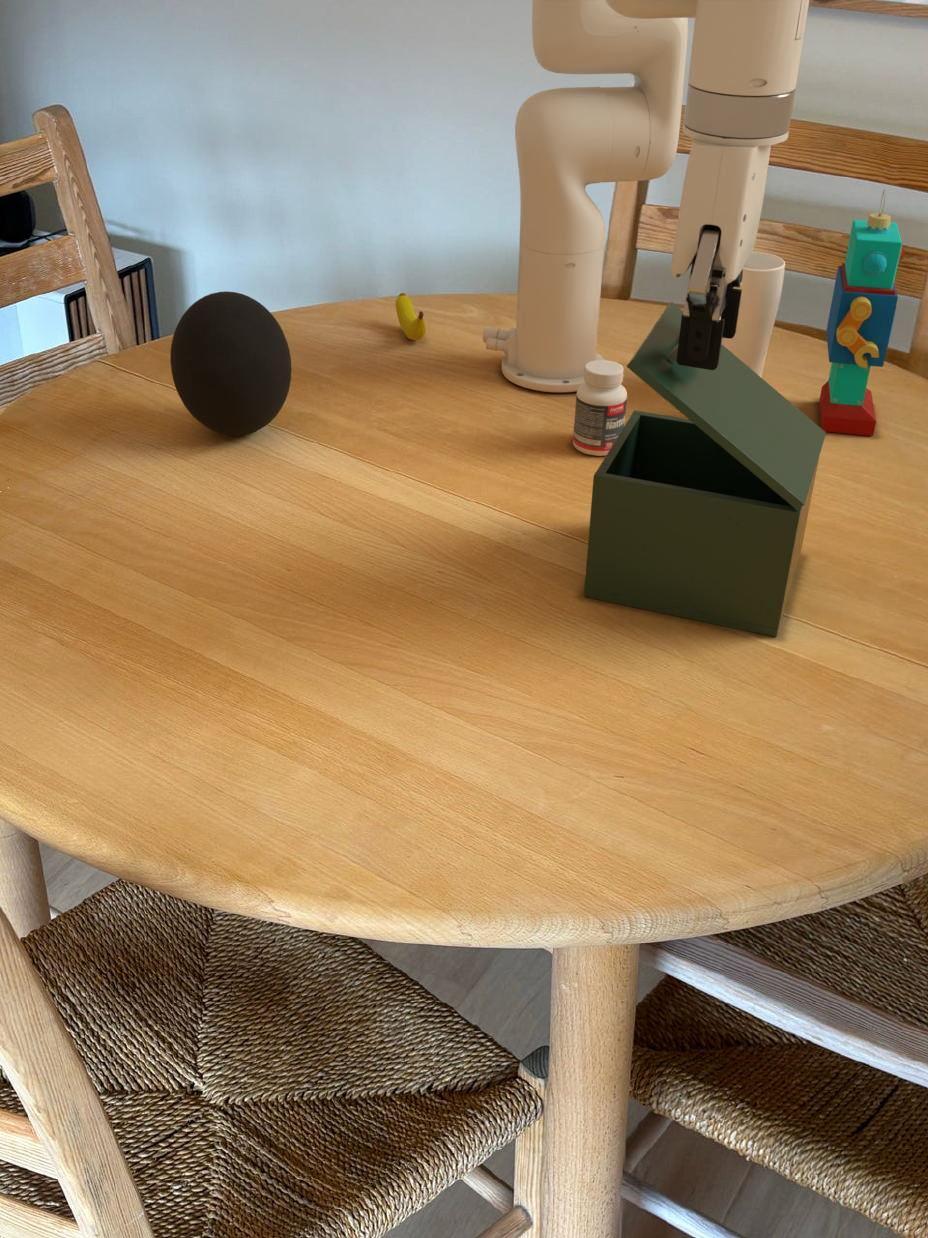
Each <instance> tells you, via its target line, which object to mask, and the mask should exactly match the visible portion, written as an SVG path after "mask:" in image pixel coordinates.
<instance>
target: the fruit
mask: <svg viewBox="0 0 928 1238" xmlns="http://www.w3.org/2000/svg"><path fill="white" fill-rule="evenodd" d="M395 311H396V315H397V319H398V322H399V325H400V327H401V330H402V331H403V333H404V335H405V337H406V338H408V339H409V340H411V341H418V340H421V339H423V338H424V337H425V336H426V332H427V326H426V323H425V320H424V311H419V313H418V316H416V312H415V310H414V306H413V302H412V299H411V298H410V297H409V296H408V295H407V294H406V293H404V292H401V293H399V295H398V296H397V298H396V300H395Z"/></svg>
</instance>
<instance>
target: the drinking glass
mask: <svg viewBox="0 0 928 1238" xmlns="http://www.w3.org/2000/svg"><path fill="white" fill-rule="evenodd" d="M785 271H786V262H785V260H784V259H783V258H782V257H780V256H778V255H775V254H773V253H769V252H763V251H756V250H755V251H754V250H753V251H752V253H751V255H750V257H749V259H748V260H747V262H746V264H745V266H744V267H743V276H742V282H741V286H740V288H736V287H733V288H734V289H741V290H742V293H741V300H740V307H739V314H738V320H737V327H736V333H735V335H734V337H733V338H731V339H728V338H722V343H721V344H722V345H723V346H725V347H726V348H727V349H728V350H729V351H730V352H732V353H733V354H734V355H735V356H736V357H737V358H739V359H740V360H741V361H742V362H743V363H745V364H746V365H747V366H748V367H749V368H750V369H752V370H753V371H754V372H755V373H756V374H757V375H759V376H760V377H761V378H762V379H763V372H764V368H765V363H766V360H767V355H768V351H769V347H770V343H771V339H772V335H773V331H774V328H775V323H776V319H777V316H778V312H779V308H780V303H781V298H782V293H783V288H784V287H783V286H784V281H785Z"/></svg>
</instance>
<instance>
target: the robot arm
mask: <svg viewBox="0 0 928 1238" xmlns="http://www.w3.org/2000/svg"><path fill="white" fill-rule="evenodd" d="M809 5H810V0H532V9H531V10H532V12H531V13H532V16H531V33H532V34H531V37H532V47H533V52H534V56H535V59H536V62H537V63H538V64H539V66H541V68H543V69H544V70H546V71H548V72H551V73H554V74H564V75H612V74H613V75H614V74H621V75H622V74H630V75H632V76H633V80H634V86H607V87H601V86H585V87H584V86H583V87H580V86H579V87H578V86H577V87H558V88H550V89H546V90H542V91H539V92H536V93H534V94H533V95H532V94H531V96H529V97H528V98H527V99H526V100H524V101H523V103H522V104H521V105H520V107H519V109H518V111H517V114H516V117H515V123H514V124H515V125H514V139H515V149H516V158H517V168H518V177H519V193H520V194H519V196H520V197H519V201H520V202H519V203H520V204H519V205H520V210H519V211H520V212H519V213H520V214H519V246H518V247H519V250H518V271H517V272H518V274H517V276H518V277H517V298H516V324H515V327H516V328H515V327H511V328H510V329H509V330H506V329H501V328H500V327H492V326H485V327H484V330H483V333H482V342H483V343H485V349H486V350H490V351H495V352H496V351H501V352H503V353H504V354H505V355H504V356H503V357H502V360H501V373H502V374H503V375H504V377H505V378H506V380H508V381H510V382H511V383H513V384H515V385H517V386H519V387H522V388H524V389H528V390H532V391H538V392H543V393H575V392H577V389H578V388H579V386H580V385H581V384H582V383H584V382H585V380H584V369H585V365H586V364H587V363H588V362H591V361H595V360H606V359H605V358H604V356H602V355H600V354H599V353H597V345H598V334H599V320H600V319H599V318H600V307H601V306H600V305H601V295H602V281H603V270H604V269H603V268H604V257H605V245H606V244H605V241H606V224H605V219H604V216H603V214H602V212H601V210H600V209H599V207H598V206H597V204H596V203H595V202H594V201H593V199H592V198H591V197H590V196H589V194H588V193H587V191H586V187H587V186H588V185H592V184H601V183H625V182H642V181H643V182H645V181H652V180H656V179H660V178H661V177H664V176H665V175H666V174H667V173H668V172H669V171H670V170H671V168H672V166H673V165H674V162H675V159H676V155H677V152H678V145H679V138H680V130H681V121H682V120H681V119H682V107H683V98H684V97H683V96H684V84H685V72H686V62H687V52H688V51H687V50H688V39H689V38H688V35H689V19H694V24H693V25H694V26H693V33H692V34H693V36H692V43H691V53H690V62H689V71H688V80H687V81H688V82H687V91H686V101H685V109H684V119H683V126H682V133H683V134H684V135H685V136H686V137H688V138H690V139H692V142H691V147H690V152H689V156H688V159H687V164H686V169H685V174H684V179H683V185H682V191H681V197H680V204H679V209H678V210H679V211H678V217H677V222H676V223H677V224H676V230H675V237H674V243H673V244H674V245H673V250H672V257H671V262H670V272H671V274H672V275H673V277H674V278H680V277H681V276H684V275H685V274H686V273H687V271H688V270H689V269H690V272H689V278H688V282H687V283H688V284H687V289H686V293H685V299H684V306H683V310H682V311H683V314H682V318H681V326H680V335H679V343H678V351H677V363H678V364H679V365H683V366H689V367H695V368H701V369H708V370H715V369H716V368H717V366H718V364H719V358H720V350H721V343H722V338H728V339H731V338H733V337H734V335H735V333H736V327H737V320H738V314H739V307H740V300H741V293H742V290H741V289H734V288H733V287H736V288H740V286H741V282H742V276H743V267H744V266H745V264H746V262H747V260H748V259H749V257H750V255H751V253H752V251H754V248H755V245H756V240H757V236H758V232H759V226H760V220H761V215H762V210H763V204H764V197H765V192H766V185H767V179H768V170H769V162H770V156H771V148H772V146H775V145H778V144H781V143H784V142H786V141H787V140H788V139H789V135H790V127H791V120H792V115H793V107H794V100H795V95H796V88H797V81H798V76H799V70H800V63H801V58H802V57H801V56H802V50H803V43H804V38H805V32H806V31H805V30H806V24H807V18H808V12H809ZM690 267H691V268H690ZM711 291H717V293H716V298H715V297H714V295H713V293H711ZM725 297H726V299H727V304H726V307H725V308H724V310H723V304H724V299H725ZM714 300H715V303H714ZM722 310H723V312H722Z"/></svg>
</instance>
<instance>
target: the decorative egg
mask: <svg viewBox="0 0 928 1238" xmlns="http://www.w3.org/2000/svg"><path fill="white" fill-rule="evenodd" d="M170 345H171V346H170V354H169V355H170V358H169V359H170V370H171V377H172V381H173V384H174V387H175V390H176V392H177V394H178V397H179V398H180V400H181V402H182V404H183V406H184V407H185V408H186V410H187V412H189V413H190V415H191V416H192V417H193V418H194V419H195V420H197V421H198V422H199V423H200V424H201V425H202V426H203V427H206V428H207V429H209V430H211V431H213V432H216V433H218V434H222V435H225V436H232V437H233V436H234V437H237V436H245V435H250V434H253V433H255V432H258V431H260V430H261V429H264V428H265V427H267V425H269V424H270V423H271V422H272V421H273V420H274V419H275V418H276V417H277V416H278V414H279V413H280V411H281V410H282V408H283V406H284V404H285V402H286V400H287V397H288V395H289V391H290V387H291V382H292V371H293V370H292V369H293V368H292V357H291V351H290V347H289V343H288V341H287V338H286V335H285V333H284V331H283V328H282V327H281V325H280V324H279V322H278V320H277V319H276V318H275V316H274V315H273V314H272V313H271V311H270V310H269V309H268V308H267V307H266V306H265V305H263V304H262V303H261V302H259V301H257V300H256V299H254V298H253V297H251V296H249V295H246V294H244V293H241V292H240V293H239V292H235V291H228V290H227V291H226V290H225V291H218V292H212V293H209V294H207V295H204V296H202V297H200V298H199V299H197V300H196V301H195V302H193V303H192V304H190V306H189V307H188V308H187V309H186V310H185V312H184V313H183V314H182V315H181V317H180V319H179V321H178V323H177V325H176V326H175V330H174V332H173V336H172V340H171V344H170Z"/></svg>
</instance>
